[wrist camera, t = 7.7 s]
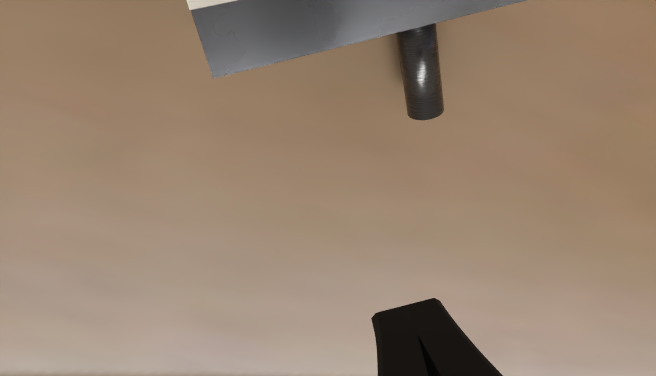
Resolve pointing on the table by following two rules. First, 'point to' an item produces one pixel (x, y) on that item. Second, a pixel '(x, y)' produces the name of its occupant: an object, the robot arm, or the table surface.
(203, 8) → the grey slab
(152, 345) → the table surface
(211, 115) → the table surface
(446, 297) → the table surface
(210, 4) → the white rectangular block
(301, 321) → the table surface
